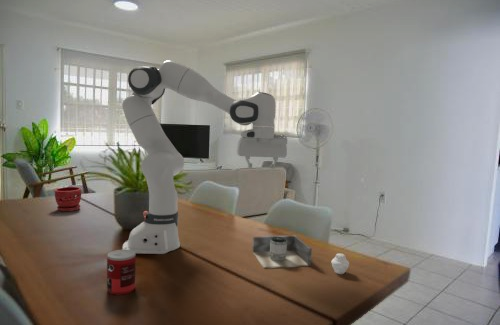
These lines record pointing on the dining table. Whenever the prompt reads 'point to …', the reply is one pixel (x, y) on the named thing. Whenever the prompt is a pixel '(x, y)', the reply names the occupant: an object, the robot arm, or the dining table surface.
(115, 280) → the canned food
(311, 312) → the dining table surface
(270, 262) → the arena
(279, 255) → the camera lens
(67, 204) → the plant pot
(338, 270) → the white rounded ceramic piece
